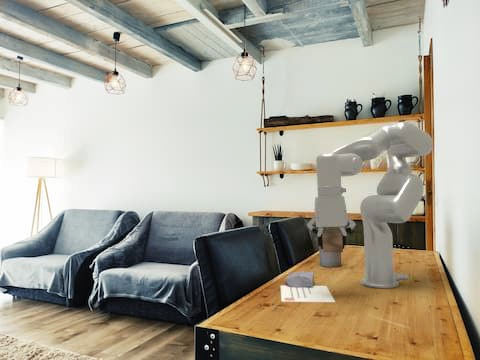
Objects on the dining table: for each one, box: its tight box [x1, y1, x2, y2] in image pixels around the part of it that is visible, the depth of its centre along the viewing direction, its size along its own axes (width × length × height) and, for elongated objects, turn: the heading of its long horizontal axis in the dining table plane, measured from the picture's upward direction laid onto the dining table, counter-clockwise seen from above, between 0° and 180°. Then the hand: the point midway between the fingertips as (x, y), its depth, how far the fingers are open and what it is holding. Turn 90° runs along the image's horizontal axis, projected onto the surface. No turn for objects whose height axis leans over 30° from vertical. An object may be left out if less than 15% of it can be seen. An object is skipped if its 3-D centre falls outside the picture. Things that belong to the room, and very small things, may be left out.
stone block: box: [285, 270, 315, 287], centre depth 135 cm, size 12×5×10 cm
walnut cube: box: [322, 230, 344, 253], centre depth 120 cm, size 6×6×6 cm
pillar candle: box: [318, 246, 342, 268], centre depth 169 cm, size 10×10×15 cm
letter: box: [280, 284, 336, 303], centre depth 122 cm, size 16×20×1 cm
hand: (332, 247), depth 119 cm, fingers closed on walnut cube, 6 cm apart
